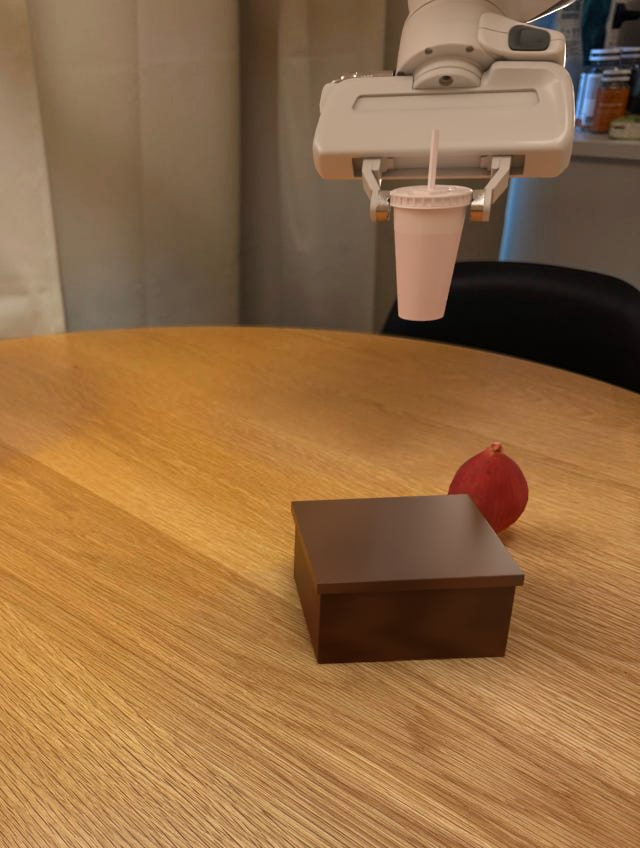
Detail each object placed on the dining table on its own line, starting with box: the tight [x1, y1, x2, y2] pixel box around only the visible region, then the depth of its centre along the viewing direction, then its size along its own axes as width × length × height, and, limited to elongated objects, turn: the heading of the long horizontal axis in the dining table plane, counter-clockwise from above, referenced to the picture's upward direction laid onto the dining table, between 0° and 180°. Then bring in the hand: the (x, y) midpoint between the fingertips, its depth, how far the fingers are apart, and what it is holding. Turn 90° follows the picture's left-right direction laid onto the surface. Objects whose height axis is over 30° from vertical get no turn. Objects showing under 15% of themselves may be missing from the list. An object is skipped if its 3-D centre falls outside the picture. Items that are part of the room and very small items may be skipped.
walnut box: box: [290, 494, 526, 664], centre depth 68 cm, size 13×13×6 cm
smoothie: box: [389, 129, 473, 322], centre depth 81 cm, size 6×6×14 cm
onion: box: [447, 441, 530, 535], centre depth 77 cm, size 6×6×8 cm
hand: (429, 216), depth 80 cm, fingers closed on smoothie, 6 cm apart
